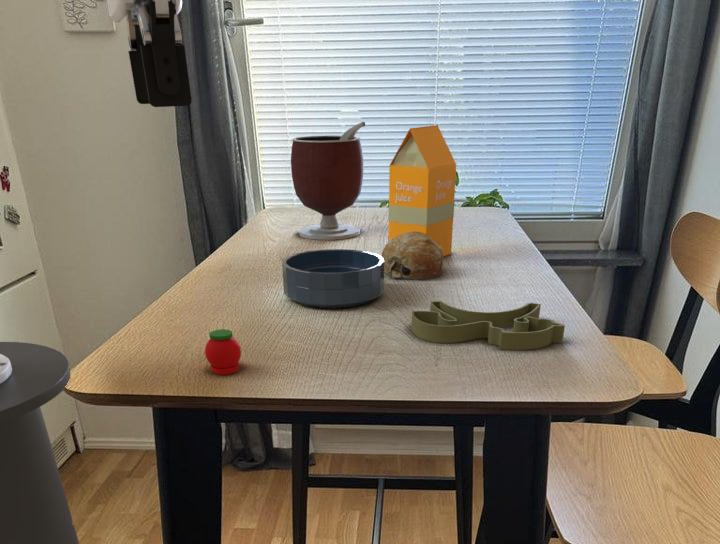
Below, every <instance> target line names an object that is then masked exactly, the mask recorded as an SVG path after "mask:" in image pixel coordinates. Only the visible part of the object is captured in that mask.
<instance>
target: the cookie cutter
mask: <svg viewBox="0 0 720 544" xmlns="http://www.w3.org/2000/svg"><path fill="white" fill-rule="evenodd" d="M429 303H430V304H429V310H412V311H411V329H410V330H411V332H412V334H413V335H414V336H416V337H417V338H419V339H421V340H424V341H427V342H432V343H438V344H453V343H462V342H468V341H473V340H478V339H479V340H480V339H487V344H489V345H495V346H499V348H500V350H507V351H526V350H527V351H529V350H536V349H543V348H544V347H547V346H549V345H551V344H552V343H557V344H561V343H563V341H564V340H563V339H564V333H565V328H566V324H562V323H558V322H556V321H554V320H552V319H549V318H540V314H541V306H542V305H541V303H535V302H527V303H526V304H524V305H523V306H519V307H518V308H513V309H510V310H504V311H503V310H502V311H489V312H487V311H486V312H484V311H474V310H473V311H472V310H467V309H462V308H457V307H455V306H451V305H450V304H447V303H445V302H444V301H442V300H433V301H432V300H430V301H429ZM511 327H512V329H513V330H512V331H505V328H511Z"/></svg>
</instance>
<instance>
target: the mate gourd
mask: <svg viewBox="0 0 720 544" xmlns="http://www.w3.org/2000/svg"><path fill="white" fill-rule="evenodd" d="M363 127H366V122H365V121H361V122H359V123H357V124H355V125H353V126H352V127H350V128H349V129H347V130H346V131H344V133H343V134H342V135H307V136H306V135H305V136H297V137H293V138H292V139H291V140H292V144H291V154H290V170H291V180H292V183H293V189H294V192H295V196H296V197H297V198H298V199H299V201H300V202H301V204H302V205H303V206H304V207H306V208H308V209H310V210H312V211H314V212H317V213H318V214H320V215H321V219H320V222H319V224H313V225H307V226H303V227H301V228H300V229H298V235H299V236H300V237H302V238H305V239H310V240H319V241H321V240H323V241H329V240H330V241H331V240H345V239H351V238H354V237H357V236H360V234H361V229H360V227H358V226H355V225H352V224H341V223H339V221H338V218H337V216H336V215H337V214H339V213H340V212H342V211H344V210H346V209H348V208H350V207H352V206H353V205H354V204H355V203H356V201H357V200H358V198H359V196H360V195H361V192H362V187H363V183H364V174H365V173H364V170H365V168H364V164H365V163H364V154H363V147H362V143H361V137H360V136H356V133H357V132H358V131H359V130H360V129H361V128H363Z"/></svg>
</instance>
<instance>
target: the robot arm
mask: <svg viewBox="0 0 720 544" xmlns="http://www.w3.org/2000/svg"><path fill="white" fill-rule="evenodd" d="M106 4H107V11H108V16H109V18H110V19H111V20H112V21H113V22H114V23H117V24H118V23H121V22H122V21H123V20H124V19H125V21H126V31H127V40H128V46H129V50H128V58H129V63H130V69H131V74H132V75H131V76H132V81H133V87H134V92H135V98H136V101H137V103H138V104H141V105H150V106H151V107H154V108H167V107H168V108H169V107H188V106H191V105H192V92H191V85H190V79H189V78H190V77H189V71H188V62H187V57H186V48H185V45H184V44H183V36H182V29H181V26H180V21H179V18H178V14H180V12H181V11H182V8H183V7H182V6H183V0H106ZM11 373H12V367H11V363H10V360H9V359H8V358H7V357H5V356H4V355H2V354H0V384H1V383H2V382H4V381H5V380H6V379H7V378H8V377H9V376H10V375H11Z"/></svg>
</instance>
